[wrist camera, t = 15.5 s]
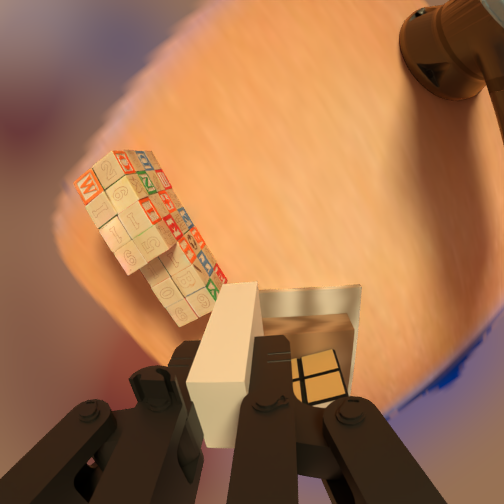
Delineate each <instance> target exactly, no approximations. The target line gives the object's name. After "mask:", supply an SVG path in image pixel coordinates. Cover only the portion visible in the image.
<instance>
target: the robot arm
mask: <svg viewBox="0 0 504 504" xmlns="http://www.w3.org/2000/svg"><path fill="white" fill-rule="evenodd" d="M400 47H401V52H402V55H403V58H404V60H405V62H406V64H407V66H408V68H409V70H410V71H411V73H412V74H413V75H414V77H415V78H416V79H417V80H418V81H419V82H420V83H421V84H422V85H423V86H424V87H425V88H426V89H427V90H429V91H430V92H432V93H433V94H435V95H437V96H439V97H441V98H444V99H447V100H455V101H456V100H463V99H467V98H471V97H473V96H475V95H477V94H478V93H479V92H480V91H481V90H482V89H483V88H484V87H485V86H486V85H487V88H488V91H489V95H490V98H491V101H492V104H493V107H494V111H495V114H496V118H497V121H498V125H499V128H500V132H501V136H502V140H503V145H504V0H449V1H447V2H446V3H445V4H444V5H437V6H430V7H424V8H421V9H418V10H416V11H415V12H413V13H412V14H411V15H410V16H409V17H408V18H407V19H406V20H405V21H404V23H403V25H402V27H401V31H400ZM495 91H496V92H495ZM129 381H130V384H131V386H132V389H133V392H134V394H135V396H136V399H137V401H138V403H137V405H136V406H135V408H131V409H125V410H117V411H111V409H110V407H109V405H108V403H106V402H104V401H103V400H97V399H94V400H87V401H85V402H82V403H80V404H79V405H77V406H76V407H74V408H73V409H72V410H71V411H70V412H69V413H68V414H67V415H66V416H65V417H64V418H63V419H62V420H61V421H60V422H59V423H58V424H57V425H56V426H55V427H54V428H53V429H52V430H50V431H49V432H48V433H47V434H46V435H45V436H44V437H43V438H42V439H41V440H40V441H39V442H38V443H37V444H36V445H35V446H34V447H33V448H32V449H31V450H30V451H29V452H28V453H27V454H26V455H25V456H23V457H22V458H21V459H20V460H19V461H18V463H16V464H15V465H14V466H13V467H12V468H11V469H10V470H9V471H8V472H7V473H6V474H5V475H4V476H3V477H2V478H1V479H0V504H194V503H195V499H196V494H197V490H198V485H199V480H200V476H201V471H202V467H203V462H204V457H203V453H202V450H201V445H202V441H203V438H204V440H205V443H206V446H207V447H208V448H235V449H234V455H233V462H232V469H231V476H230V483H229V490H228V496H227V503H226V504H298V475H303V476H309V477H314V478H321V479H322V482H323V484H324V487H325V489H326V491H327V493H328V496H329V498H330V500H331V502H332V504H447V503H446V501H445V500H444V498H443V497H442V496H441V494H440V493H439V492H438V490H437V489H436V487H435V486H434V485H433V483H432V482H431V481H430V479H429V478H428V476H427V475H426V474H425V472H424V471H423V470H422V468H421V467H420V466H419V464H418V463H417V461H416V460H415V459H414V457H413V456H412V455H411V453H410V452H409V451H408V449H407V448H406V446H405V445H404V444H403V442H402V441H401V440H400V438H399V437H398V436H397V434H396V433H395V432H394V430H393V429H392V427H391V426H390V425H389V423H388V422H387V421H386V419H385V418H384V417H383V415H382V414H381V412H380V411H379V410H378V408H377V407H376V406H375V405H374V404H373V403H372V402H371V401H369V400H367V399H364V398H362V397H354V396H349V397H343V398H339V399H337V400H335V401H333V402H331V403H330V404H329V405H328V406H327V407H326V408H320V407H314V406H310V405H307V404H305V403H303V402H301V401H300V400H299V399H297V397H296V396H295V394H294V391H293V378H292V363H291V349H290V342H289V340H288V339H287V338H286V337H285V336H284V335H271V336H264V333H263V324H262V316H261V308H260V299H259V291H258V283H257V281H256V282H244V283H232V284H222V287H221V290H220V292H219V295H218V298H217V300H216V303H215V305H214V308H213V311H212V313H211V316H210V319H209V321H208V324H207V327H206V329H205V332H204V335H203V337H202V340H199V341H184V342H183V343H182V344H181V345H179V346H178V347H177V348H176V349H175V351H174V353H173V355H172V357H171V359H170V361H169V364H168V367H166V366H158V365H157V366H149V367H146V368H143V369H140V370H138V371H137V372H135V373H133V374H132V376H131V377H130V378H129ZM91 457H92V458H93V459H94V461H95V462H94V463H93V464H92V465H87V462H88V460H89V459H90V458H91Z"/></svg>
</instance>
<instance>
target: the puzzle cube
mask: <svg viewBox="0 0 504 504" xmlns="http://www.w3.org/2000/svg"><path fill="white" fill-rule="evenodd" d="M291 363H292V378H293V391H294V394H295V396H296V397H297V399H299V400H300V401H301V402H303V403H305V404H307V405H310V406H314V407H320V408H326V407H327V406H328V405H329V404H330V403H331V402H333V401H335V400H337V399H339V398H343V397H349V394H348V391H347V388H346V384H345V381H344V378H343V374H342V372H341V368H340V364H339V361H338V358H337V355H336V352H335V350H334V349H330V350H327V351H323V352H319V353H315V354H311V355H307V356H303V357H301V358H300V360H299V359H297V358H295V359H291Z"/></svg>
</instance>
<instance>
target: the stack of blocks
mask: <svg viewBox="0 0 504 504" xmlns="http://www.w3.org/2000/svg"><path fill="white" fill-rule="evenodd" d="M92 167H93V168H90V169H89V170H87V171H86V172H85V173H84V174H83V175H81V176H80V177H79V178H78V179H77V180H76V181H75V182H74V183H73V184H74V186H75V188H76V190H77V192H78V194H79V195H80V197H81V199H82V201H83V203H84V205H86V206H85V208H86V210H87V212H88V214H89V215H90V217H91V219H92V220H93V222H94V224H95V225H96V227H97V228H98V229H99V232H100V234H101V236H102V237H103V239H104V240H105V242H106V243H107V245H108V247H109V248H110V250H111V251H112V252H113V253H114V255H115V257H116V258H117V260H118V262H119V263H120V265H121V266H122V268H123V269H124V271H125V272H126V273H127V275H128V276H129V275H131V274H132V273H134V272H135V271H137V270H138V269H139V270H140V271H141V273H142V274H143V276H144V277H145V279H146V280H147V282H148V283H149V285H150V286H151V289H152V290H153V292H154V293H155V295H156V296H157V298H158V299H159V301H160V302H161V304H162V305H163V306H164V308H166V309H167V311H168V313H169V314H170V315H171V317H172V318H173V320H174V321H175V323H176V324H177V325H178V327H181V326H184V325H186V324H188V323H190V322H192V321H194V320H196V319H198V318H199V317H201V316H203V315H205V314H207V313H209V312H211V311H213V308H214V305H215V303H216V300H217V298H218V295H219V292H220V290H221V287H222V284H226V283H227V278H226V277H225V275H224V274H223V272H222V271H221V269H220V268H219V266H218V264H217V263H216V260H215V258H214V257H213V255H212V253H211V252H210V250H209V249H208V247H207V245H206V244H205V242H204V240H203V238H202V237H201V235H200V233H199V232H198V230H197V228H196V227H195V226H194V225H193V223H192V221H191V219H190V218H189V216H188V214H187V213H186V211H185V209H184V208H183V206H182V204H181V203H180V201H179V199H178V198H177V196H176V194H175V193H174V191H173V189H172V186H171V185H170V183H169V181H168V179H167V178H166V176H165V174H164V172H163V171H162V169H161V167H160V165H159V163H158V161H157V160H156V158H155V156H154V154H153V153H152V151H134V150H123V151H111V152H110V153H108V154H107V155H106V156H105V157H103V158H102V159H101V160H99V161H98V162H97V163H96V164H94V165H93V166H92Z"/></svg>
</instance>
